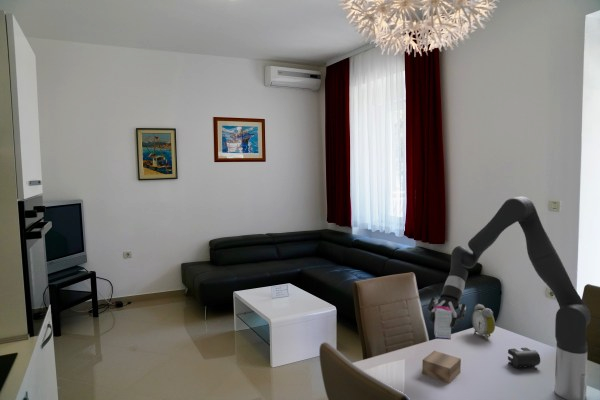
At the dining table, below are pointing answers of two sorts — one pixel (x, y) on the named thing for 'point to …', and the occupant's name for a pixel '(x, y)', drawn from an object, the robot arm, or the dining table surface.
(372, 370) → the dining table surface
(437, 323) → the supplement box
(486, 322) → the alarm clock
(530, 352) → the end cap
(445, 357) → the walnut block
